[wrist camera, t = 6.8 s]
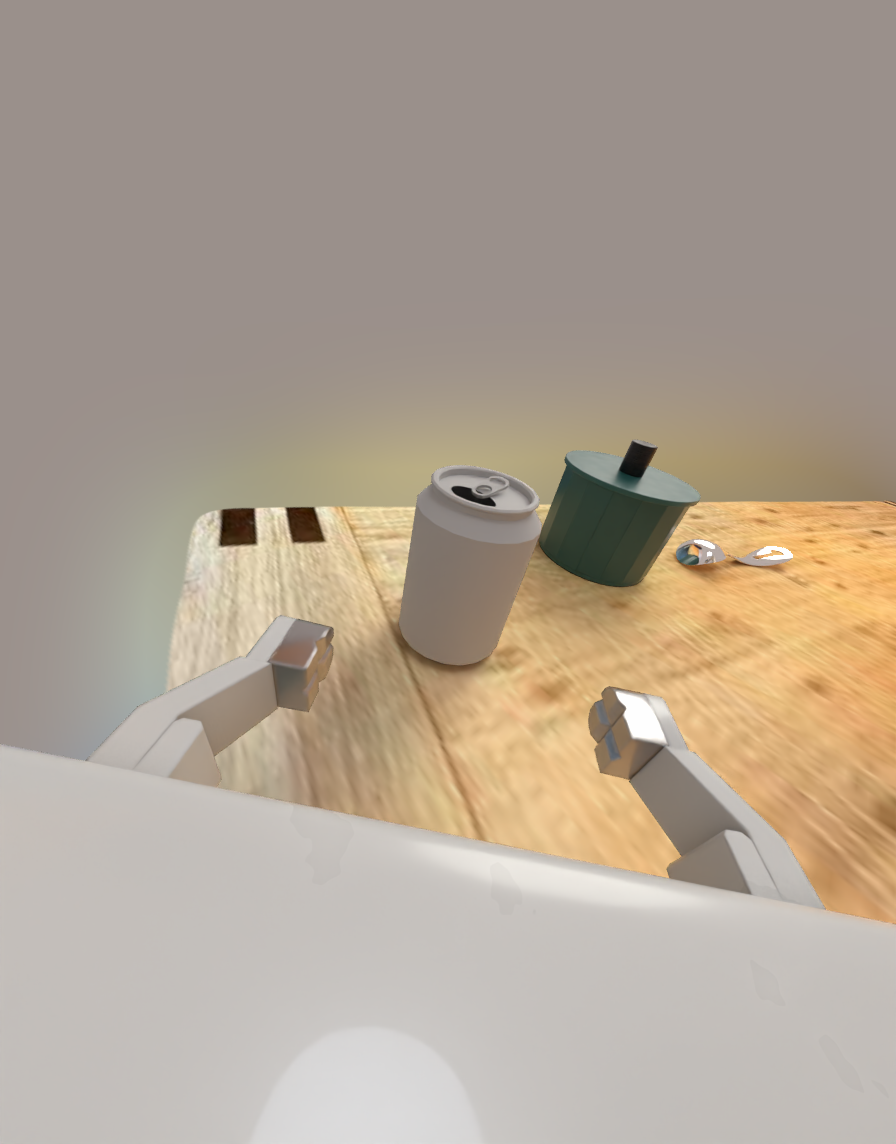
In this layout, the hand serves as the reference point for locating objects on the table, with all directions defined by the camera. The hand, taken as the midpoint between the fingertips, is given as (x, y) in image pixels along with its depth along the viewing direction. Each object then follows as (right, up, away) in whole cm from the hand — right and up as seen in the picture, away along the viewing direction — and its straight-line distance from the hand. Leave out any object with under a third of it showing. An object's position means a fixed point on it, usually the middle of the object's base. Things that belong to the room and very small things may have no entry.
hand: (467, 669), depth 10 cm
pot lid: (+18, +13, +26) cm, 34 cm away
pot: (+16, +5, +31) cm, 36 cm away
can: (-1, -2, +16) cm, 16 cm away
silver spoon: (+38, +4, +38) cm, 54 cm away
